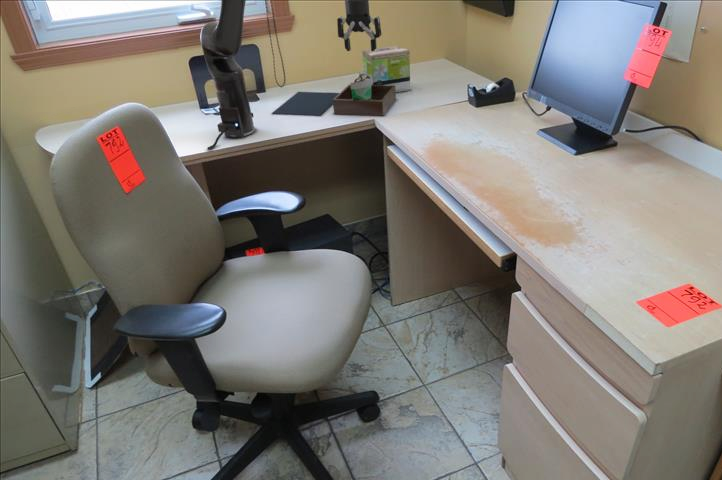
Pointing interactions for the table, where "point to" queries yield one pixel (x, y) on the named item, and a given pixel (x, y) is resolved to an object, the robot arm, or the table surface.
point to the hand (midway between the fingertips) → (361, 50)
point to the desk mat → (307, 104)
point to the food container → (362, 87)
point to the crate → (365, 101)
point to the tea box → (388, 67)
